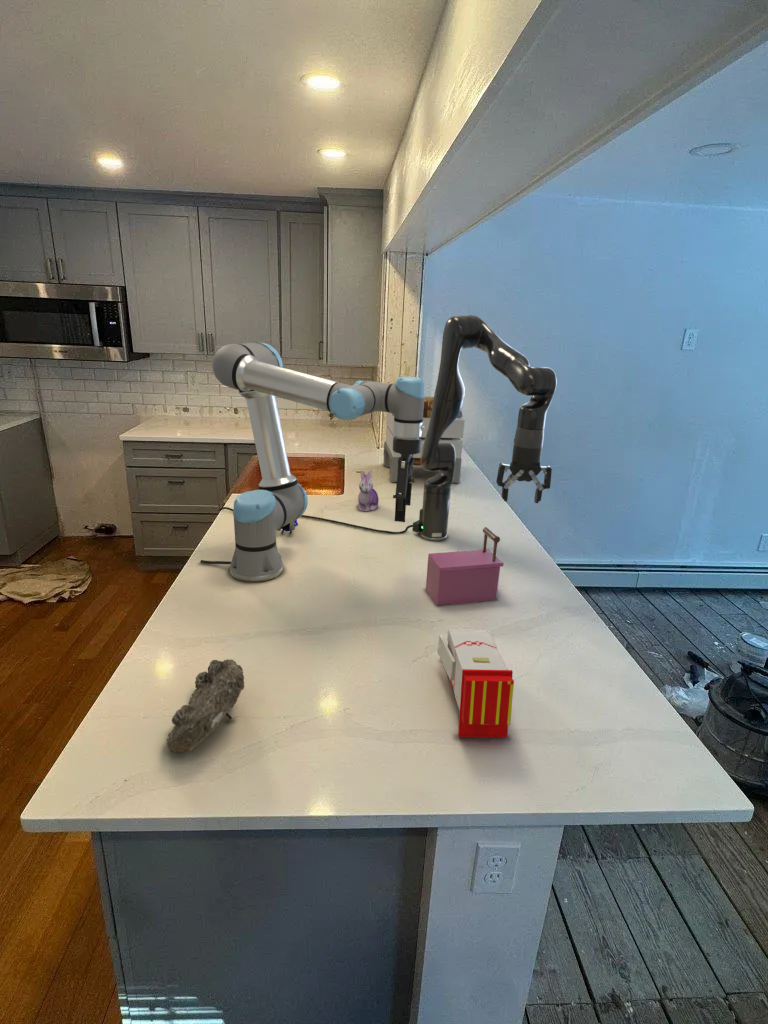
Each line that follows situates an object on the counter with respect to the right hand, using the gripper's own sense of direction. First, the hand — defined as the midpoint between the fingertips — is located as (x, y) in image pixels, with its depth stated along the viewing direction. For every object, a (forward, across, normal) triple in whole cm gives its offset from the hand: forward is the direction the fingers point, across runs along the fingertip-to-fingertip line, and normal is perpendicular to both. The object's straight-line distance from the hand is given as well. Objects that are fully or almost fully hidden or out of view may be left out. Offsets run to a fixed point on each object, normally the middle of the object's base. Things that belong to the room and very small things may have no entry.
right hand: (520, 501), depth 157 cm
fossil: (+26, -67, -63) cm, 95 cm away
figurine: (+26, -46, +61) cm, 81 cm away
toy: (+26, -17, -50) cm, 59 cm away
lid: (+16, -15, -7) cm, 23 cm away
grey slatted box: (+26, -25, +116) cm, 121 cm away
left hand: (+4, -32, -2) cm, 33 cm away
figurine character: (+26, -72, +34) cm, 84 cm away
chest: (+26, -15, -7) cm, 31 cm away
